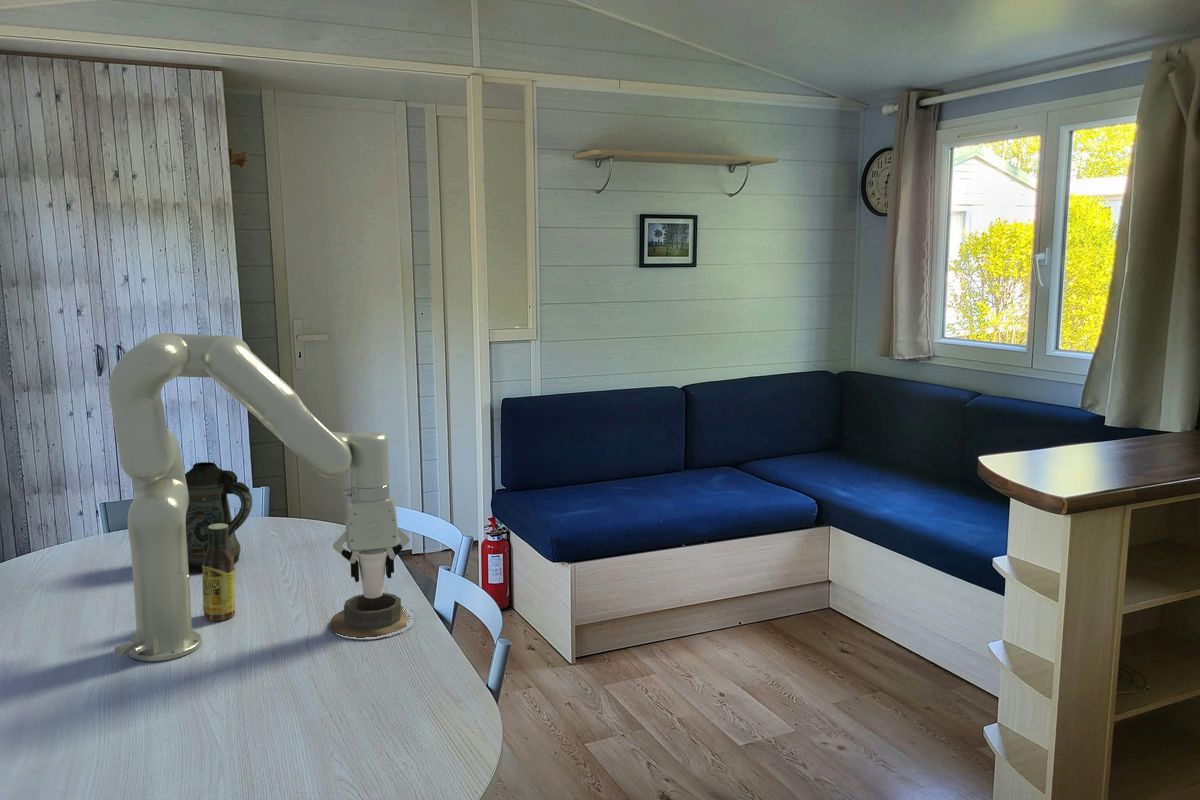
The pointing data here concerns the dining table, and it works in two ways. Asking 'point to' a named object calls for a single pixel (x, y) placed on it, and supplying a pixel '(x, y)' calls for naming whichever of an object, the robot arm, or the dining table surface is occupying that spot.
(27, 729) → the dining table surface
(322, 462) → the robot arm
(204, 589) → the sauce bottle
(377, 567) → the smoothie
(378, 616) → the holder
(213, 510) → the beer stein
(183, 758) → the dining table surface
